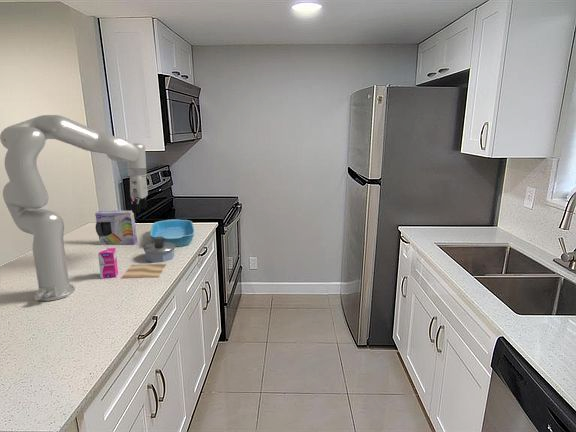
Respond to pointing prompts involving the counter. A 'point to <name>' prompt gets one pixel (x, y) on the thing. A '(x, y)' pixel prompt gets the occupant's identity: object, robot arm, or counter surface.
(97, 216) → the cake pan box
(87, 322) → the counter surface
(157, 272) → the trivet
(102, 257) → the supplement box
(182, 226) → the casserole dish
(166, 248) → the lid
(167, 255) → the bowl
